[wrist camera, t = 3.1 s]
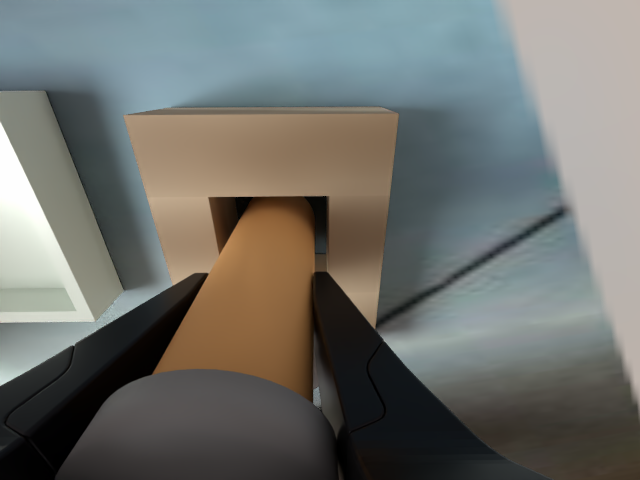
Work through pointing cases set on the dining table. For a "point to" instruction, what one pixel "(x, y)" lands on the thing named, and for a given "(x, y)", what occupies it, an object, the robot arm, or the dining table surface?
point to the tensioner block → (270, 182)
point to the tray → (46, 223)
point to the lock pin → (228, 373)
